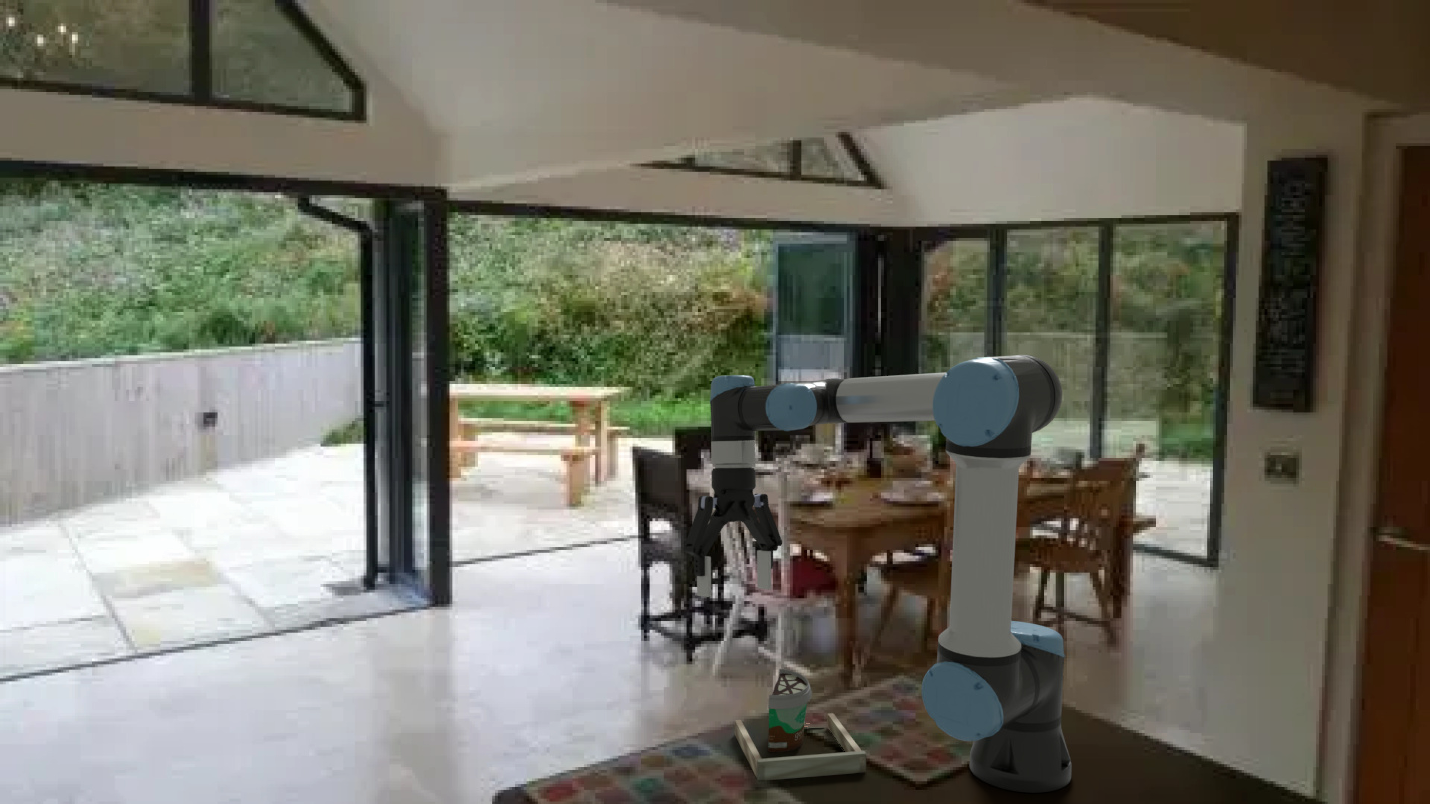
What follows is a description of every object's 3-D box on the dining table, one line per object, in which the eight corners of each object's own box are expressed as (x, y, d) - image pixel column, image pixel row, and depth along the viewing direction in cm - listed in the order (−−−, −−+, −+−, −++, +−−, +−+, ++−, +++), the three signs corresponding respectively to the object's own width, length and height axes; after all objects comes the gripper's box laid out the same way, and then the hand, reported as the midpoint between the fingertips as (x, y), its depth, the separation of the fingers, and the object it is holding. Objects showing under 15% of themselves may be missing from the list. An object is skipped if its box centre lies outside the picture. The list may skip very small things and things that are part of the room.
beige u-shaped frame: (865, 772, 169) (866, 753, 169) (758, 781, 166) (758, 762, 166) (832, 727, 186) (833, 710, 186) (734, 734, 183) (734, 717, 183)
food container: (805, 760, 174) (807, 700, 172) (766, 756, 175) (768, 696, 174) (814, 727, 186) (816, 671, 184) (778, 723, 187) (779, 667, 186)
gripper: (771, 465, 198) (773, 584, 197) (661, 467, 181) (663, 597, 180) (801, 465, 192) (802, 587, 191) (690, 467, 176) (691, 601, 175)
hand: (735, 592), depth 186 cm, fingers open, 13 cm apart
